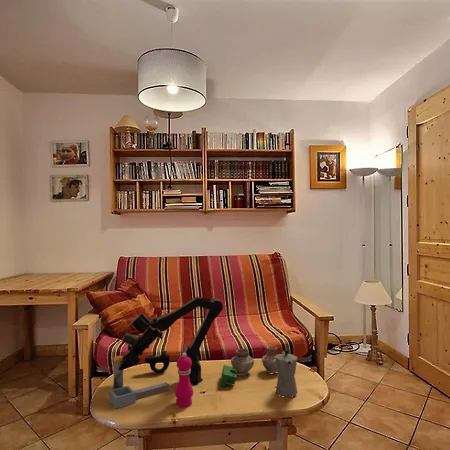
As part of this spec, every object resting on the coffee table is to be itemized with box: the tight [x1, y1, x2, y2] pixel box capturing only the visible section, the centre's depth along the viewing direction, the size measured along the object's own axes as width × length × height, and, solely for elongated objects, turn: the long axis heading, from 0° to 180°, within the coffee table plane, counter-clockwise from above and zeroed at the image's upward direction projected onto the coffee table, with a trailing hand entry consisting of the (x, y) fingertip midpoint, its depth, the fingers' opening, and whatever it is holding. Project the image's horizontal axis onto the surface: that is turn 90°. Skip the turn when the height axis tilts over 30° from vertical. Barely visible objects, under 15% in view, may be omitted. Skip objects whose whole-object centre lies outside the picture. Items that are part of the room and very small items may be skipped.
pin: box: [113, 355, 124, 389], centre depth 155 cm, size 4×4×13 cm
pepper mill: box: [174, 353, 194, 408], centre depth 140 cm, size 7×7×20 cm
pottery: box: [230, 345, 278, 376], centre depth 171 cm, size 11×25×12 cm, turn 96°
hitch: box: [108, 381, 170, 409], centre depth 146 cm, size 24×8×4 cm, turn 126°
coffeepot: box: [275, 349, 298, 398], centre depth 150 cm, size 15×9×18 cm, turn 2°
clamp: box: [219, 364, 238, 388], centre depth 160 cm, size 12×6×9 cm, turn 173°
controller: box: [144, 350, 171, 374], centre depth 171 cm, size 4×12×10 cm, turn 103°
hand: (120, 365), depth 155 cm, fingers open, 9 cm apart
